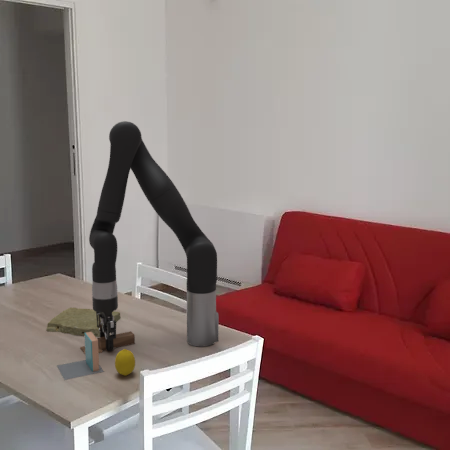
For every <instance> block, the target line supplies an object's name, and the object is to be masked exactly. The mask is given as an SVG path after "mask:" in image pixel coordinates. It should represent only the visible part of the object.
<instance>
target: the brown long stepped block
mask: <svg viewBox="0 0 450 450" xmlns="http://www.w3.org/2000/svg"><path fill="white" fill-rule="evenodd" d="M135 336H136V335H135V333H133V331H125V332H121V333H116V338H115V339H113V344H114V349H115V348H120V347H124V346H130V345H134V344H136V343H135V342H136V340H135ZM96 338H97V340H98V354H101V353H103V351H107V350H106V339H105V337H96ZM79 349H80V350H81V352H82V353H83V354H84V355H85V345H84V346H79Z"/></svg>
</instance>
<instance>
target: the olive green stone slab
mask: <svg viewBox="0 0 450 450" xmlns="http://www.w3.org/2000/svg"><path fill="white" fill-rule="evenodd" d="M112 315H113V316H114V321H115V320H116V323H117V322H119V320H120V319H122V318H121V312H120V311H116V310H115V311H113V312H112ZM45 330H46V331H47V332H50V333H51V332H52V333H62V334H69V335H72V336H79V337H80V336H82V337H85V334H84V333H87V332H92V333H93V334H94V336H95V337H96V338H100V332H99V328H98V327H97V318H96V311H94V310H93V308H92V309H91V308H80V307H79V308H78V307H68V308H66V309H65V310H63V311H62V312H60V313H59V314H57V315H56V316H54V317H52V319H50V320H49V322H47V324H46V329H45Z"/></svg>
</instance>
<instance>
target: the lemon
mask: <svg viewBox="0 0 450 450" xmlns="http://www.w3.org/2000/svg"><path fill="white" fill-rule="evenodd" d="M114 367H115V371H116V372H117V373H118V374H120V375H123V376H124V377H127V376H128V375H130V374H131V373H133V372H134V370H135V367H136V359H135V355H134V353H133V352H132V351H131V350H129V349H126V348H123V349H122V350H120V351H119V352H117V354H116V356H115V359H114Z"/></svg>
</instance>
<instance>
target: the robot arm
mask: <svg viewBox="0 0 450 450" xmlns="http://www.w3.org/2000/svg"><path fill="white" fill-rule="evenodd" d="M108 135H109V136H108V139H109V143H110V147H109V148H110V149H109V159H108V161H109V162H108V167H107V171H106V174H105V178H104V182H103V185H102V188H101V191H100V195H99V200H98V201H99V202H98V206H97V210H96V215H95V218H94V220H93V223H92V225H91V228H90V231H89V236H88V240H89V245H90V246H91V248H92V249H93V252H94V253H93V255H94V256H93V257H94V258H93V259H94V260H93V263H92V265H91V266H92V267H91V277H92V281H91V282H92V285H91V293H92V294H91V296H92V297H91V299H92V309H93V310H94V311H96V318H97V327H98V328H99V332H100V337H105V339H106V350H105V351H106V352H110V351H113V350H114V349H115V348H114V344H113V339H115V338H116V334H117V322H116V320H115V321H114V316H113V315H112V312H113V311H115V312H116V310H118V307H119V304H118V303H119V302H118V301H119V299H118V297H119V296H118V294H119V293H118V283H117V268H116V265H117V257H118V241H117V238H116V236H115V234H114V232H115V227H116V224H117V223H118V222H119V221H120V219H121V216H122V212H123V207H124V203H125V197H126V193H127V192H126V191H127V185H128V179H129V176H130V171H131V172H132V173H133V175H134V177H135V179H136V181H137V183H138V185H139V187H140V189H141V191H142V192H143V195H144V196H145V197H146V200H147V202H149V204H150V206H151V207H152V208H153V210H154V211H155V213H156V214H157V215H158V217H159V218H160V219H161V220H162V221H163V223H164V224H166V225H167V226H168V227H169V228H170V230H171V231H172V232H173V233H174V234H175V237H176V238H177V240H178V241H179V243H180V245H181V247H182V249H183V251H184V253H185V255H186V342H187V343H188V344H189V345H191V346H193V347H208V346H212V345H213V344H215V343H217V342H219V312H218V311H217V281H218V254H217V250H216V247H215V246H214V244H213V242H212V241H211V240H210V239H209V238H208V236H206V234H205V233H204V232H203V230H202V229H201V228H200V227H199V225H198V224H197V223H196V222H195V220H194V218H193V216H192V214H191V212H190V209H189V207H188V206H187V203H186V201H185V200H184V198H183V197H182V194H181V193H180V192H179V189H178V188H177V187H176V185H175V184H174V182H173V180H172V179H171V178H170V176H168V174H167V172H165V171H164V169H163V168H162V167H161V166H160V165H159V164H158V163H157V161H156V160H155V159H154V158H153V156H152V155H151V154H150V151H149V149H148V148H147V146H146V145H145V142H144V141H143V137H142V132H141V130H140V128H139V127H138V126H137V124H135V123H133V122H131V121H125V120H124V121H123V120H122V121H120V122H117V123H115V124H114V125H113V126H112V127H111V129H110V131H109V134H108ZM100 337H99V338H100Z"/></svg>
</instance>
